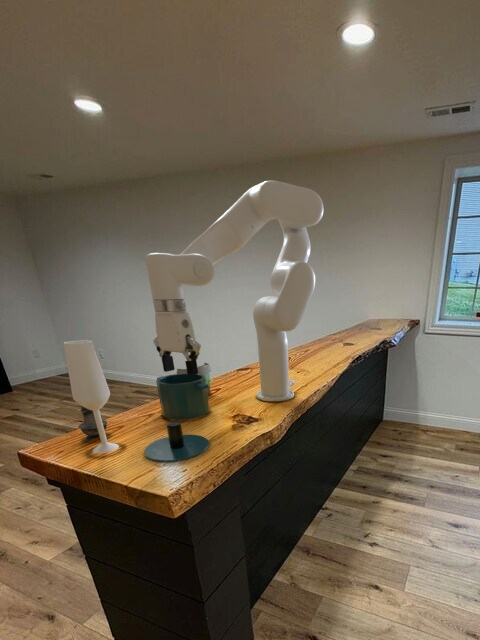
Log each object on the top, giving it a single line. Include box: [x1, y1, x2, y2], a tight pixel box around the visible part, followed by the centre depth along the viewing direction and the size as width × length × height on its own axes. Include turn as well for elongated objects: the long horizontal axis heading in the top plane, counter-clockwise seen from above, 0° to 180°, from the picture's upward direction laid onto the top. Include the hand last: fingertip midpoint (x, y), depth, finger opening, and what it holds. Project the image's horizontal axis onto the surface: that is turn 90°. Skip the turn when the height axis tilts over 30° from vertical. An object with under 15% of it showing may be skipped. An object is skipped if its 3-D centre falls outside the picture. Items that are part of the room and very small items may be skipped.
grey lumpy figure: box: [78, 405, 108, 442], centre depth 82 cm, size 6×6×12 cm
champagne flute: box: [63, 339, 120, 454], centre depth 74 cm, size 7×7×24 cm
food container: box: [176, 362, 212, 397], centre depth 116 cm, size 12×6×10 cm, turn 150°
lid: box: [143, 420, 210, 463], centre depth 77 cm, size 14×14×7 cm
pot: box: [156, 373, 210, 421], centre depth 99 cm, size 13×18×10 cm
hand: (180, 372), depth 96 cm, fingers open, 9 cm apart
